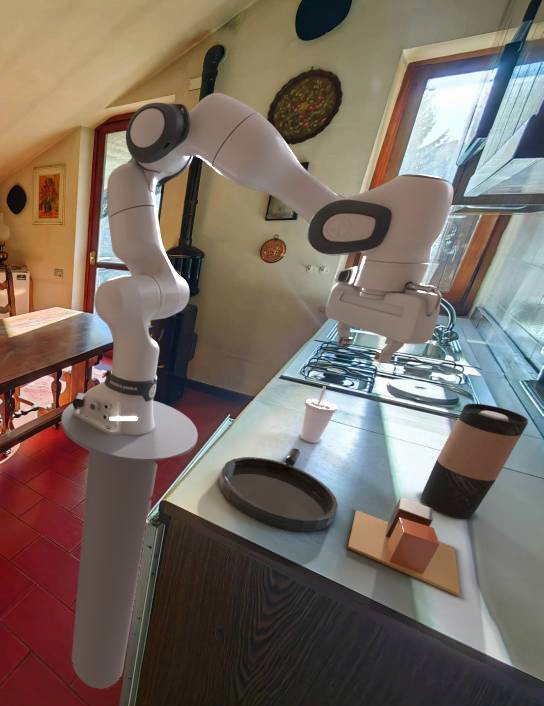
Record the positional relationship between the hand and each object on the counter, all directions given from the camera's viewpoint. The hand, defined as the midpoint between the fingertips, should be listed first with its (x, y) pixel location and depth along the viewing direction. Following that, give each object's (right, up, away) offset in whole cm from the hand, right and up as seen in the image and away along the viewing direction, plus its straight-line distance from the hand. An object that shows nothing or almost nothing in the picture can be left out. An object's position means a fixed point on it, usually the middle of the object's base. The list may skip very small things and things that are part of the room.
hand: (360, 353), depth 74 cm
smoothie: (+7, -20, +23) cm, 31 cm away
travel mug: (+17, -29, +1) cm, 34 cm away
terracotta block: (-3, -34, -12) cm, 36 cm away
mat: (-1, -33, -9) cm, 35 cm away
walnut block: (+1, -32, -7) cm, 33 cm away
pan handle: (-6, -24, +12) cm, 28 cm away
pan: (-15, -28, +3) cm, 32 cm away
